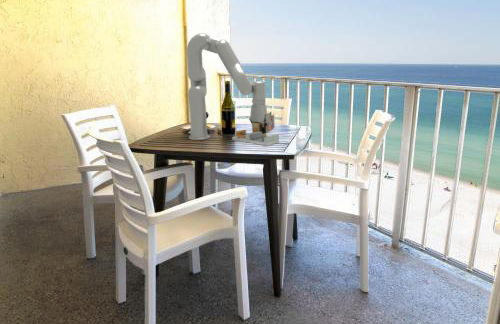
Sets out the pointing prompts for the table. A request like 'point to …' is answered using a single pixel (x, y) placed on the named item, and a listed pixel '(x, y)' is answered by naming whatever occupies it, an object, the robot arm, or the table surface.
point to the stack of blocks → (271, 123)
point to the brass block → (257, 128)
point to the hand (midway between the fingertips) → (259, 132)
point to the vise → (259, 140)
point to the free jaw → (249, 134)
